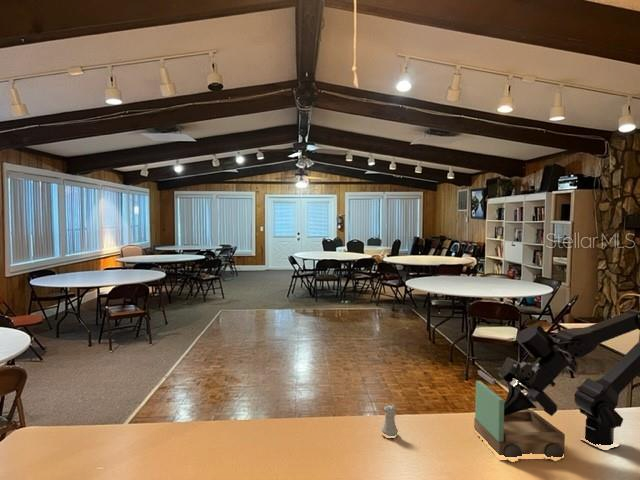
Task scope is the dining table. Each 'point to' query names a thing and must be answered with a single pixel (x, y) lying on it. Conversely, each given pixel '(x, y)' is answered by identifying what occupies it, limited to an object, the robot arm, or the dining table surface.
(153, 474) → the dining table surface
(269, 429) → the dining table surface
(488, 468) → the dining table surface
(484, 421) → the panel
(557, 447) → the cart
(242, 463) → the dining table surface
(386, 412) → the rook chess piece
